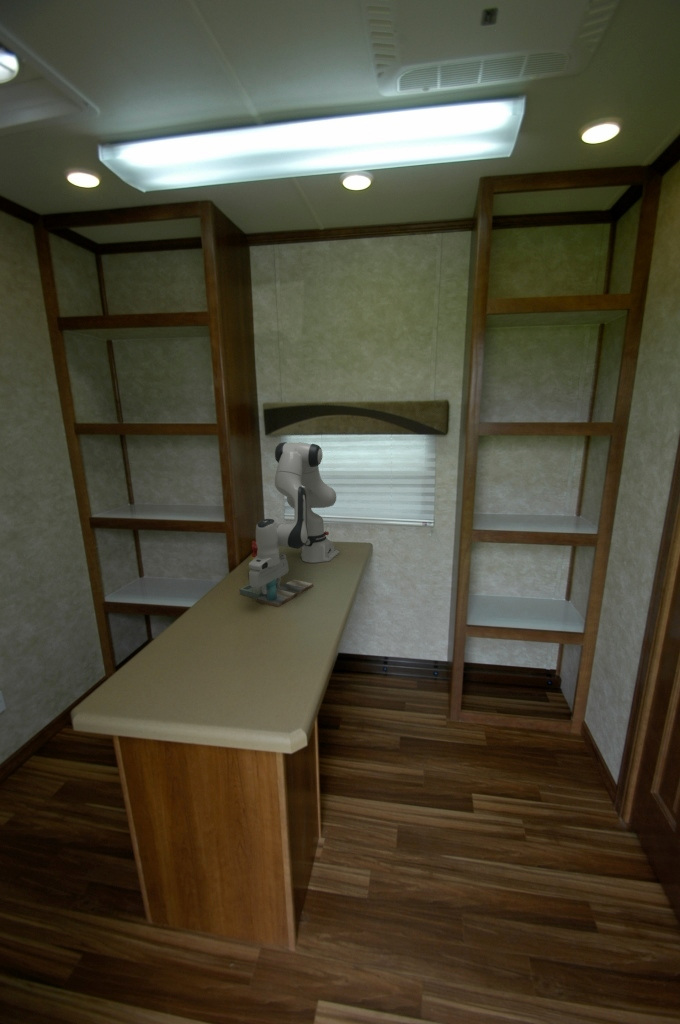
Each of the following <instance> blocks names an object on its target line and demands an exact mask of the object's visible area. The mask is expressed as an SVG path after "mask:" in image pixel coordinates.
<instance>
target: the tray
mask: <svg viewBox="0 0 680 1024" xmlns="http://www.w3.org/2000/svg"><path fill="white" fill-rule="evenodd" d="M238 589H239V594H240V595H242V596H245V597H249V598H252V599H255V600H256V599H257V598H259V597H261V596H262V595H264V594H263V593H262V592H260V593H258V592H254V591H252V587H251V586H250V583H249V584H247V585H245V586H242V587H240V588H238Z"/></svg>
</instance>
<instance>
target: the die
mask: <svg viewBox="0 0 680 1024" xmlns="http://www.w3.org/2000/svg"><path fill="white" fill-rule="evenodd" d="M265 588H266V587H265ZM252 591H254V592H258V593H260V592H262V589H261V588H258V589H256V588H253V587H252Z"/></svg>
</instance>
